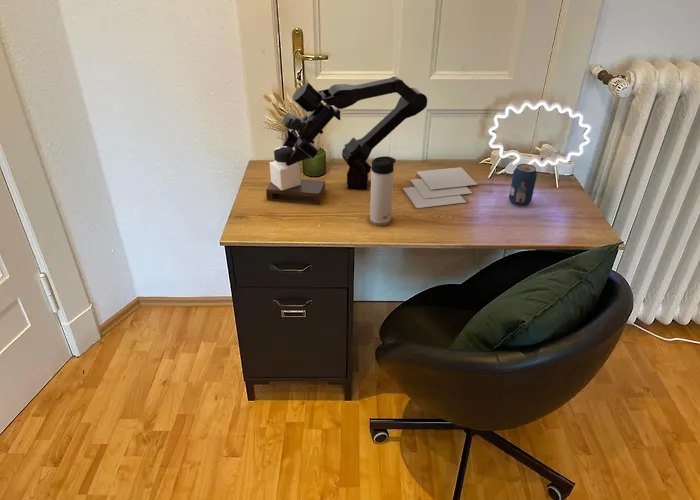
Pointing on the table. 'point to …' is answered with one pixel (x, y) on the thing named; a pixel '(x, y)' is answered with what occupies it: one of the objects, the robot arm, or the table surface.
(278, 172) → the medicine bottle
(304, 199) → the brown slotted box
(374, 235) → the table surface
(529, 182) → the soda can
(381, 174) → the travel mug
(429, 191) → the paper stack
